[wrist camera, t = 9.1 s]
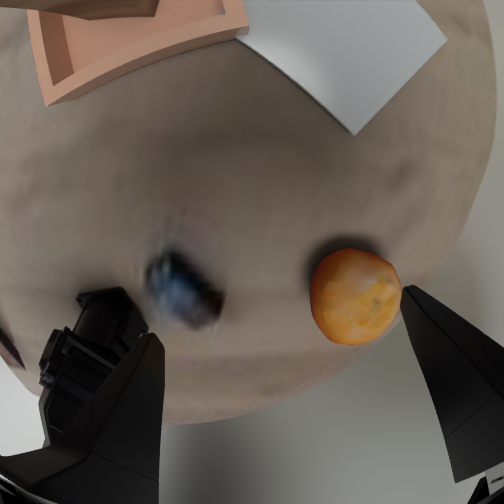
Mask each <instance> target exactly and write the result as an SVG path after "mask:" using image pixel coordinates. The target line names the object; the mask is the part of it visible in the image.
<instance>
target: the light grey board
mask: <svg viewBox="0 0 504 504" xmlns="http://www.w3.org/2000/svg"><path fill="white" fill-rule="evenodd" d="M242 1H243V5H244V8H245V12H246V16H247V19H248V23H249V32H248V34H246V35H240V36H236V37H235V39H236V40H238V41H239V42H241V43H242V44H244V45H245V46H247V47H248V48H250V49H251V50H252V51H254V52H255V53H257V54H258V55H259V56H261V57H262V58H264V59H265V60H266V61H268V62H269V63H270V64H272V65H273V66H274V67H276V68H277V69H278V70H279V71H281V72H282V73H283V74H285V75H286V76H287V77H288V78H290V79H291V80H292V81H293V82H294V83H296V84H297V85H298V86H299V87H300V88H302V89H303V90H304V91H305V92H306V93H308V94H309V95H310V96H311V97H312V98H313V99H314V100H316V101H317V102H318V103H319V104H320V105H321V106H322V107H323V108H324V109H325V110H327V111H328V112H329V113H330V114H331V115H332V116H333V117H334V118H335V119H336V120H337V121H338V122H339V123H340V124H341V125H342V126H343V127H344V128H345V129H346V130H347V131H348V132H349V133H351V134H352V135H354V136H355V135H356V134H357V133H358V132H359V131H360V130H361V129H362V128H363V127H364V126H365V125H366V124H367V123H368V122H369V121H370V120H371V119H372V117H373V116H374V115H375V114H376V113H377V112H378V111H379V110H380V109H381V108H382V107H383V106H384V105H385V104H386V103H387V102H388V101H389V100H390V99H391V98H392V97H393V96H394V95H395V94H396V93H397V91H398V90H399V89H400V88H401V87H402V86H403V85H404V84H405V83H406V82H407V81H408V80H409V79H410V78H411V77H412V76H413V75H414V74H415V73H416V72H417V71H418V70H419V69H420V68H421V67H422V66H423V65H424V64H425V63H426V61H427V60H428V59H429V58H430V57H431V56H432V55H433V54H434V53H435V52H436V51H437V50H438V49H439V48H440V47H441V46H442V45H443V44H444V43H445V42H446V41H447V38H446V37H445V36H444V34H443V33H442V32H441V30H440V29H439V28H438V26H437V25H436V24H435V23H434V21H433V20H432V19H431V18H430V17H429V15H428V14H427V13H426V12H425V11H424V9H423V8H422V7H421V6H420V5H419V4H418V3H417V2H416V0H242ZM223 14H226V13H225V9H224V10H223V11H222V12H221V13H220V14H219V15H223ZM219 15H218V16H219Z"/></svg>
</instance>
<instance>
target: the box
mask: <svg viewBox="0 0 504 504" xmlns="http://www.w3.org/2000/svg"><path fill="white" fill-rule="evenodd" d="M224 9H225V13H226V14H223V15H219V14H220V13H221V12H222V11H223V10H224ZM27 15H28V24H29V31H30V38H31V44H32V50H33V55H34V60H35V65H36V69H37V74H38V78H39V82H40V86H41V90H42V94H43V98H44V101H45V105H46V107H47V106H51V105H54V104H58V103H62V102H66V101H70V100H74V99H76V98H78V97H80V96H82V95H84V94H85V93H87V92H89V91H91V90H93V89H95V88H97V87H99V86H101V85H103V84H105V83H107V82H109V81H111V80H113V79H116V78H118V77H120V76H122V75H124V74H127V73H129V72H131V71H134V70H136V69H139V68H141V67H144V66H146V65H149V64H151V63H154V62H157V61H160V60H162V59H165V58H168V57H171V56H174V55H177V54H180V53H183V52H187V51H190V50H193V49H197V48H200V47H204V46H208V45H212V44H215V43H220V42H224V41H228V40H233V39H235V37H236V36H240V35H246V34H248V32H249V23H248V19H247V16H246V12H245V8H244V5H243V1H242V0H159V4H158V7H157V10H156V14H155V17H128V18H111V19H100V20H91V21H88V20H84V19H80V18H76V17H71V16H67V15H62V14H56V13H51V12H44V11H38V10H30V9H27ZM218 15H219V16H218Z"/></svg>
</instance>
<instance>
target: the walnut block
mask: <svg viewBox="0 0 504 504" xmlns="http://www.w3.org/2000/svg"><path fill="white" fill-rule="evenodd" d="M158 4H159V0H0V7H9V8H21V9H30V10H38V11H44V12H51V13H56V14H62V15H67V16H71V17H76V18H80V19H84V20H88V21H91V20H100V19H111V18H128V17H155V14H156V10H157V7H158Z"/></svg>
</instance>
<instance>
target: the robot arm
mask: <svg viewBox="0 0 504 504" xmlns="http://www.w3.org/2000/svg"><path fill="white" fill-rule="evenodd" d="M76 301H77V302H78V304H79V305H80V306H81V308H82V309H83V310H82V312H81V314H80V316H79V318H78V320H77V323H76V325H75V327H74V329H73V331H71V330H70V328H68V327H67V326H65V327H64V329H63V330H57V329H54V330H53V332H52V334H51V336H50V338H49V340H48V342H47V344H46V346H45V348H44V351H43V354H42V356H41V359H40V362H39V366H40V370H41V373H40V376H41V377H40V381H39V384H40V385H42V386H43V387H44V389H43V391H42V394H41V397H40V400H39V403H38V404H39V411H40V416H41V420H42V426H43V430H44V434H45V440H44V444H43V447H42V448H41V449H38V450H34V451H30V452H26V453H21V454H17V455H12V456H1V455H0V474H1V475H2V476H4V477H5V478H7V479H8V480H10V481H11V482H13V483H14V484H13V483H11V482H9V481H7V480H5V479H3V478H1V477H0V504H159V461H160V460H159V459H160V441H161V426H162V413H163V401H164V390H165V349H164V346H163V344H162V343H161V341H160V340H159V339H158V337H157V336H156V334H155V333H148V330H149V329H148V327H147V325H146V324H145V322H144V321H143V319H142V318H141V316H140V315H139V313H138V312H137V310H136V309H135V307H134V306H133V304H132V303H131V301H130V299H129V298H128V296H127V295H126V293H125V291H124V290H123V289H122V288H114V289H108V290H103V291H97V292H91V293H85V294H80V295H78V296H77V298H76ZM400 309H401V312H402V315H403V318H404V322H405V325H406V328H407V331H408V335H409V338H410V341H411V345H412V347H413V350H414V352H415V355H416V357H417V360H418V362H419V365H420V367H421V370H422V373H423V375H424V378H425V381H426V383H427V386H428V389H429V392H430V395H431V397H432V401H433V403H434V407H435V409H436V413H437V416H438V419H439V422H440V426H441V429H442V432H443V436H444V438H445V439H444V440H445V444H446V447H447V451H448V455H449V459H450V463H451V467H452V472H453V477H454V481H455V483H458V482H460V481H463V480H465V479H468V478H470V477H473V476H475V475H477V474H480V473H482V472H484V471H485V474H486V476H484V477H483V478H481V479H480V480H479V482H478V484H477V486H476V488H475V490H474V492H473V494H472V496H471V498H470V500H469V501H468V503H467V504H504V347H502V346H501V345H499V344H498V343H497V342H495V341H494V340H493V339H491V338H490V337H489V336H487V335H486V334H485V335H484V333H483V332H482V331H480V330H479V329H478V328H476V327H475V326H473V325H472V324H471V323H469V322H468V321H467V320H465V319H464V318H462V317H461V316H459V315H458V314H456V313H455V312H454V311H452V310H451V309H449V308H448V307H446V306H445V305H444V304H442V303H441V302H439V301H438V300H436V299H435V298H433V297H432V296H430V295H429V294H427V293H426V292H424V291H423V290H421V289H420V288H418V287H417V286H415V285H409V286H406V287H404V288H403V290H402V295H401V300H400ZM140 334H143V335H142V336H141V337H140Z"/></svg>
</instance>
